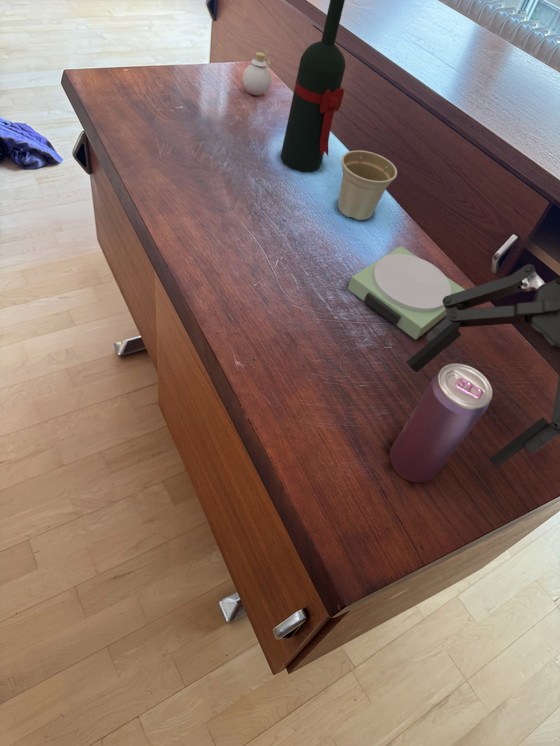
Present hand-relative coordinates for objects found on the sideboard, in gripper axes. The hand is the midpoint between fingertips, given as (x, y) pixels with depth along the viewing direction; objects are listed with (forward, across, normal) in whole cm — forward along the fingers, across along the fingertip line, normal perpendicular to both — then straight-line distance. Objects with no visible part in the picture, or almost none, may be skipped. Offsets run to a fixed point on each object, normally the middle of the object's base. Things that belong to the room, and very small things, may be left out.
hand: (449, 413), depth 61 cm
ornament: (-11, +86, -25) cm, 90 cm away
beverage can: (+8, 0, -6) cm, 10 cm away
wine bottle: (-8, +60, -22) cm, 65 cm away
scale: (-6, +24, -19) cm, 31 cm away
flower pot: (-9, +45, -23) cm, 51 cm away
